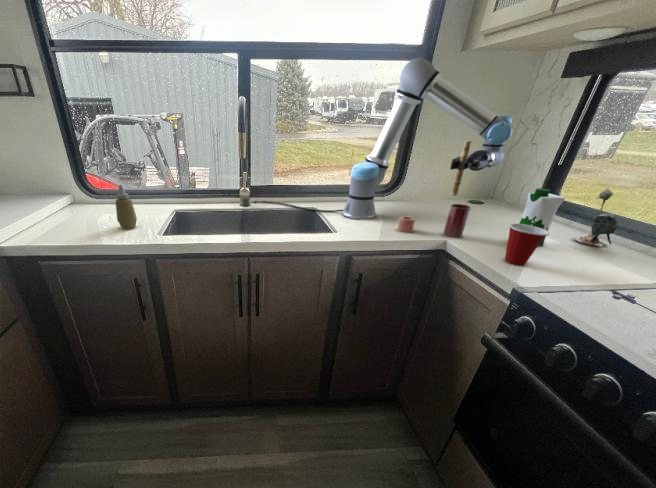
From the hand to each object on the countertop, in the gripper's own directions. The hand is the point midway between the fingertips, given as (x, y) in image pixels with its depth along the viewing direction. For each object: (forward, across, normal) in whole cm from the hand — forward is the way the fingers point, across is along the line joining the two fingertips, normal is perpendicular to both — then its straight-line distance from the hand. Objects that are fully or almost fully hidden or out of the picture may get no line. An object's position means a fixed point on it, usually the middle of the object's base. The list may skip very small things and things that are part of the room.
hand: (456, 165), depth 122 cm
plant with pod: (-37, -42, -28) cm, 62 cm away
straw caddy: (+1, +13, -27) cm, 30 cm away
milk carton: (-20, -26, -28) cm, 43 cm away
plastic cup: (+5, -29, -27) cm, 40 cm away
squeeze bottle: (+88, +96, -27) cm, 133 cm away
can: (-7, -3, -27) cm, 28 cm away
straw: (-6, 0, -11) cm, 12 cm away
